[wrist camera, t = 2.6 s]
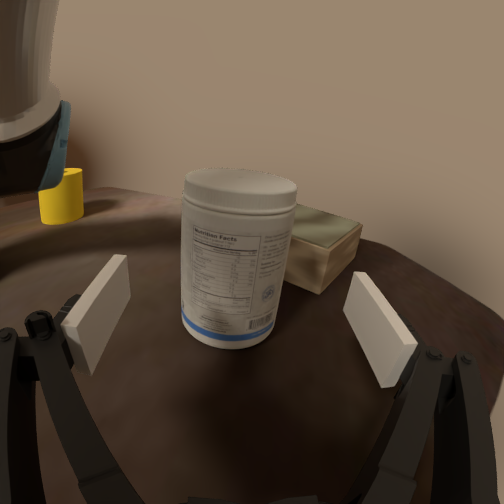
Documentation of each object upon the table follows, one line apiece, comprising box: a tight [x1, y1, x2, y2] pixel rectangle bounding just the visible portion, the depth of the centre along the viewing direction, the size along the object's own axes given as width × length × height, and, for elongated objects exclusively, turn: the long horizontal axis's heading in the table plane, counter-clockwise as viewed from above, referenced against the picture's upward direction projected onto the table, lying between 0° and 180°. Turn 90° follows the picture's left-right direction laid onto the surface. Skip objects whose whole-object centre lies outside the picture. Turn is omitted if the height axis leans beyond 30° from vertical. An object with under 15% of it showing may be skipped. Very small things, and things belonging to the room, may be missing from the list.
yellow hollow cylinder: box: [39, 168, 84, 224], centre depth 50 cm, size 10×10×9 cm
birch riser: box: [283, 204, 363, 295], centre depth 47 cm, size 22×16×6 cm
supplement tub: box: [181, 168, 297, 349], centre depth 27 cm, size 10×10×15 cm
